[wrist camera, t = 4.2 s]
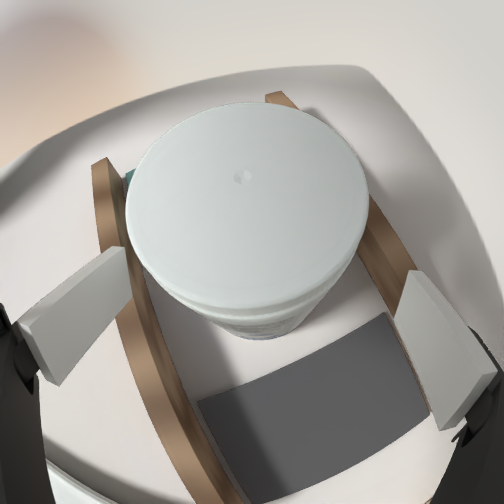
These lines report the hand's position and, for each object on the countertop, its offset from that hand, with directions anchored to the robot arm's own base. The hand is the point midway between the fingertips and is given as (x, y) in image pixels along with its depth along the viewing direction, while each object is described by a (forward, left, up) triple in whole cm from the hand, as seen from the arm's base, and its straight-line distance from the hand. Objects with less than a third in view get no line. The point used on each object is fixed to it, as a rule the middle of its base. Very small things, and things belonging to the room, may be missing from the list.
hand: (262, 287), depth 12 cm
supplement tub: (-3, +1, -11) cm, 12 cm away
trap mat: (+10, +1, -11) cm, 14 cm away
